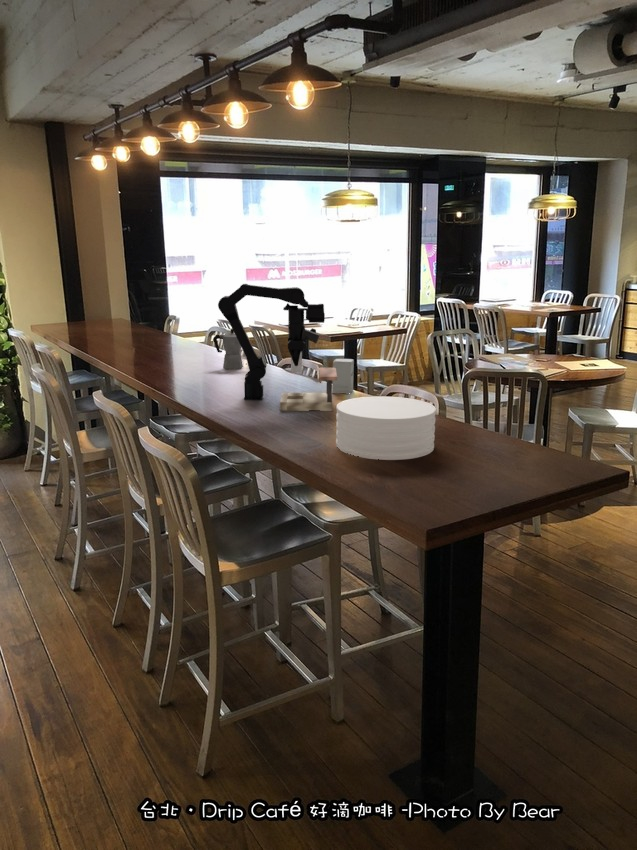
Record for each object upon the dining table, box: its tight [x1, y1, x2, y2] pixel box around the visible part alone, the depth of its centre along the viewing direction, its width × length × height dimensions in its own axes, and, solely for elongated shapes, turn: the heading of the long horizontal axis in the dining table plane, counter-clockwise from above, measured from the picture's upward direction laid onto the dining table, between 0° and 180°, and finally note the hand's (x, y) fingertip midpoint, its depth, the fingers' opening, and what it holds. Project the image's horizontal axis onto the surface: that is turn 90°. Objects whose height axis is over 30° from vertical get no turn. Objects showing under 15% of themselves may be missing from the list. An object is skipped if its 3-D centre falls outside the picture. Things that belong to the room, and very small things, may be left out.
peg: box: [290, 351, 303, 374], centre depth 251 cm, size 4×4×9 cm
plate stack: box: [335, 395, 437, 461], centre depth 194 cm, size 28×28×12 cm
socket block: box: [279, 367, 337, 412], centre depth 241 cm, size 20×18×12 cm
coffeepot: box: [212, 329, 244, 370], centre depth 314 cm, size 15×9×18 cm, turn 103°
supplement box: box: [332, 358, 355, 395], centre depth 264 cm, size 7×7×13 cm
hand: (296, 364), depth 252 cm, fingers closed on peg, 4 cm apart
